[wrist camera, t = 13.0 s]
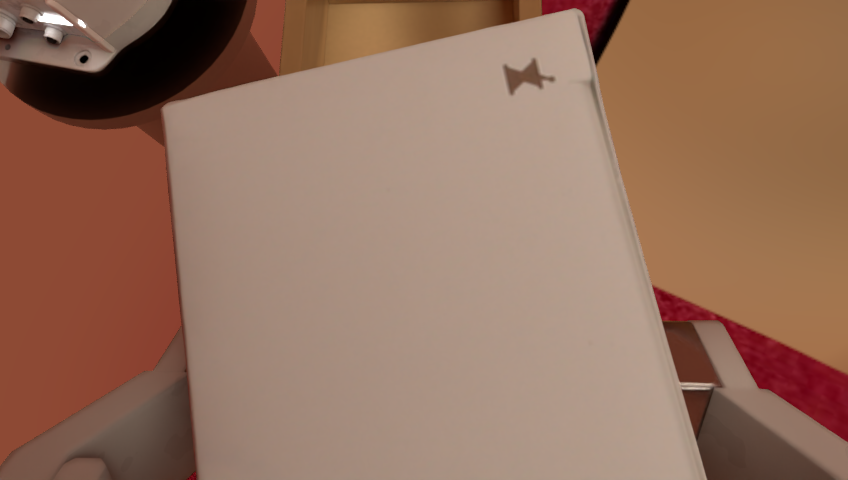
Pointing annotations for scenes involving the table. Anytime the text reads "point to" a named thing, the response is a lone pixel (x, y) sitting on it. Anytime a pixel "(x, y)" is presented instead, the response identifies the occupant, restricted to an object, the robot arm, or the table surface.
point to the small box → (420, 272)
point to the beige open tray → (383, 26)
